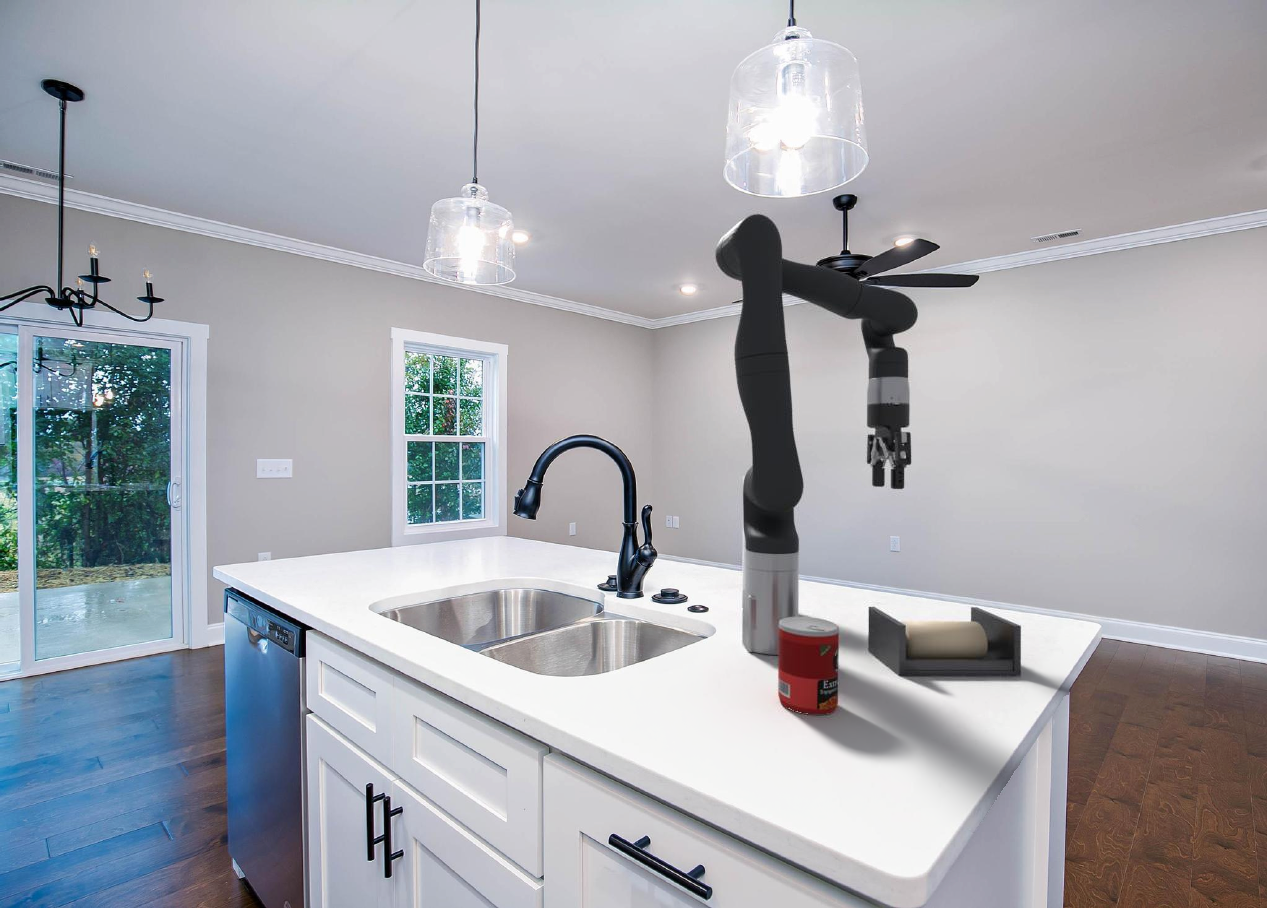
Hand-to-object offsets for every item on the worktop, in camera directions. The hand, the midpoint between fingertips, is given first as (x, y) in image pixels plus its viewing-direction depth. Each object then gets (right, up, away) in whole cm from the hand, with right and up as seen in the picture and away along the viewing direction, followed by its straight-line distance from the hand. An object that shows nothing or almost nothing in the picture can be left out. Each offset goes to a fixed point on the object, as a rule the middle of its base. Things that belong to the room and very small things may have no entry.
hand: (887, 487), depth 118 cm
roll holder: (+2, -28, -16) cm, 32 cm away
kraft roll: (+2, -27, -16) cm, 32 cm away
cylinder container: (-20, -28, +20) cm, 40 cm away
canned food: (-25, -28, -34) cm, 50 cm away
